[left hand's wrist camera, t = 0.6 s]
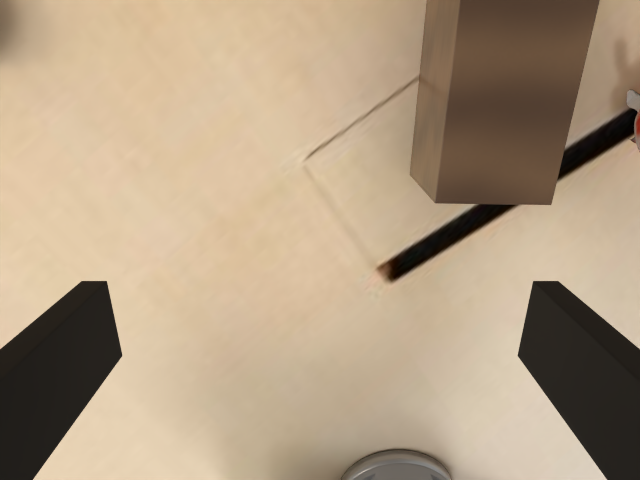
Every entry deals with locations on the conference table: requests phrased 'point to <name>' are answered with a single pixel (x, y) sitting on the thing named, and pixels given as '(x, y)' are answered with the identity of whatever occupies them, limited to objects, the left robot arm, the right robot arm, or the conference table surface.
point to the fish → (636, 102)
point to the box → (497, 97)
